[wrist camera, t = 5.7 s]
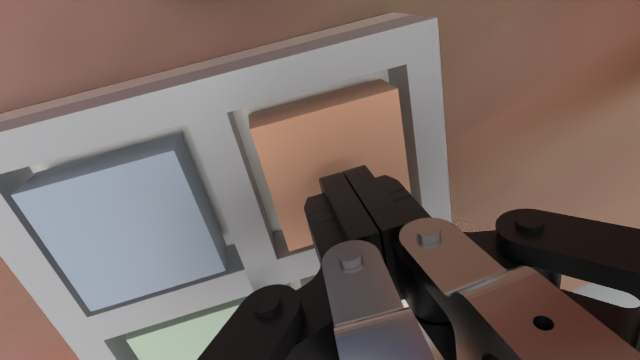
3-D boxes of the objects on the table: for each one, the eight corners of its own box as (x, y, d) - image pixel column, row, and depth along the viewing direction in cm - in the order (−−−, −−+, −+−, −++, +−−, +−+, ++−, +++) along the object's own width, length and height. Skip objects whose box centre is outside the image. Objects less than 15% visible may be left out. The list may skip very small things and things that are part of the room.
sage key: (244, 276, 18) (244, 303, 16) (273, 349, 20) (276, 377, 19) (135, 310, 17) (126, 340, 16) (177, 380, 20) (173, 411, 18)
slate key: (180, 133, 14) (173, 150, 12) (226, 244, 16) (225, 271, 14) (36, 172, 13) (10, 195, 12) (104, 281, 16) (91, 311, 14)
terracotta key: (380, 78, 14) (398, 88, 13) (397, 193, 17) (413, 213, 15) (248, 114, 14) (249, 129, 12) (283, 227, 16) (289, 251, 15)
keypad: (392, 12, 16) (437, 17, 12) (426, 293, 23) (460, 347, 20) (-4, 114, 15) (-79, 152, 11) (163, 378, 22) (150, 451, 19)
